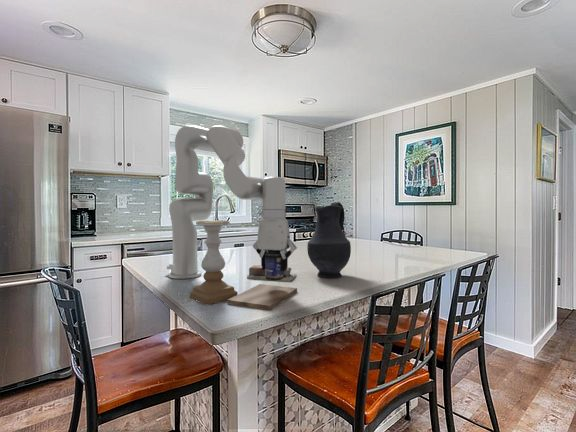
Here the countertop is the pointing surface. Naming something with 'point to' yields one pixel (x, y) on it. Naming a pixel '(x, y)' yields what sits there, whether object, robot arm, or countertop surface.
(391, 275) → the countertop surface
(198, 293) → the candle holder
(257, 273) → the butter dish
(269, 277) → the pill bottle
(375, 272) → the countertop surface
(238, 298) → the walnut board
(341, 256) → the pitcher
